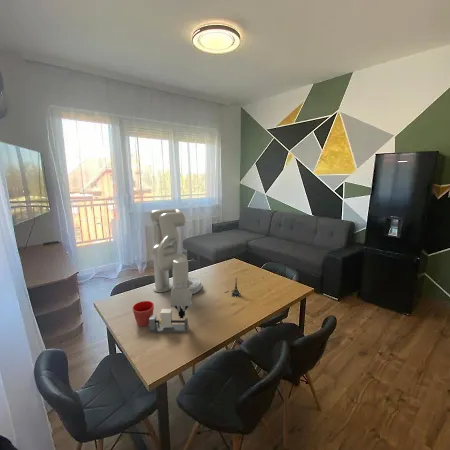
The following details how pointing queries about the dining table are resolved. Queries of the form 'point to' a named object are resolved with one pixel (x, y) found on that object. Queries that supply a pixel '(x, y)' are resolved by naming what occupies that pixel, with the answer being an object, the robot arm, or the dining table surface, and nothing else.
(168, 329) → the grey slider rail
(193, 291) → the cable
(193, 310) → the dining table surface
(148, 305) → the flower pot
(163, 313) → the white sliding block
